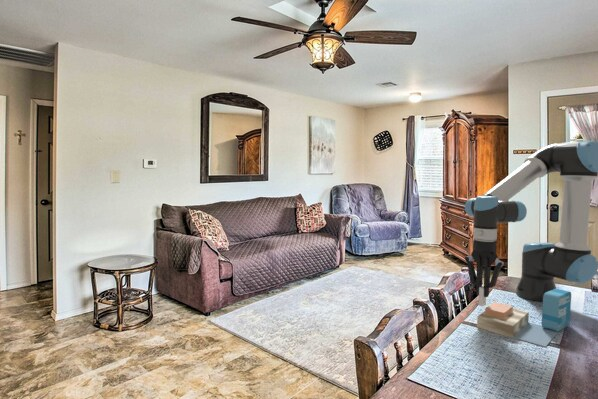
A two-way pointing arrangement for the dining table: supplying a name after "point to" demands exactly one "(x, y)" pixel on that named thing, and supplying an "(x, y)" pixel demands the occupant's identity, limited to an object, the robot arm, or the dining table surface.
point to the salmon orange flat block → (499, 310)
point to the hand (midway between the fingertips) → (482, 304)
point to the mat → (535, 334)
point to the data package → (556, 309)
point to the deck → (504, 322)
